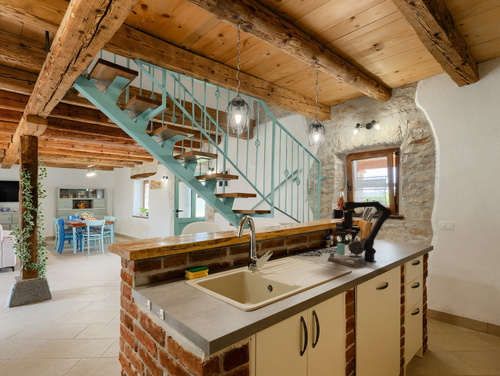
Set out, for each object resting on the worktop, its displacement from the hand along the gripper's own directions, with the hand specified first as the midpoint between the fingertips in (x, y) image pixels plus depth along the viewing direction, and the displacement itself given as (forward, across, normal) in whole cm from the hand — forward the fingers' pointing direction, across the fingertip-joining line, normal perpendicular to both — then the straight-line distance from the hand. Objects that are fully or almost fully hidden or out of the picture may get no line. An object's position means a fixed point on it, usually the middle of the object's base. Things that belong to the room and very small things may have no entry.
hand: (348, 241), depth 194 cm
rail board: (+13, +6, +4) cm, 15 cm away
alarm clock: (+13, -18, -8) cm, 24 cm away
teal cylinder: (+11, +6, -1) cm, 13 cm away
